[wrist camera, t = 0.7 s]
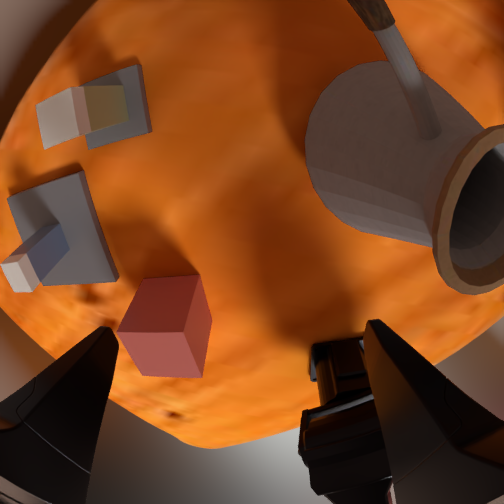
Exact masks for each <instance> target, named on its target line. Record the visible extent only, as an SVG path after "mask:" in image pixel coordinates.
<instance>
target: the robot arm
mask: <svg viewBox="0 0 504 504" xmlns="http://www.w3.org/2000/svg"><path fill="white" fill-rule="evenodd" d="M118 350H119V343H118V341H117V339H116V337H115V335H114V333H113V331H112V329H111V328H110V327H106V326H100V327H99V328H97V329H96V330H95V331H93V332H92V333H91V334H89V335H88V336H87V337H85V338H84V339H83V340H81V341H80V342H79V343H78V344H76V345H75V346H74V347H72V348H71V349H70V350H69V351H67V352H66V353H65V354H63V355H62V356H61V357H60V358H58V359H57V360H56V361H54V362H53V363H52V364H51V365H49V366H48V367H47V368H46V369H44V370H43V371H42V372H41V373H40V374H38V375H37V376H36V377H34V378H33V379H32V380H31V381H29V382H28V383H27V384H26V385H24V386H23V387H22V388H20V389H19V390H17V391H16V392H15V393H13V394H12V395H10V396H9V397H8V398H6V399H5V400H3V401H1V402H0V504H86V498H87V492H88V486H89V480H90V473H91V469H92V463H93V458H94V453H95V449H96V444H97V440H98V435H99V431H100V427H101V423H102V419H103V415H104V411H105V407H106V403H107V400H108V396H109V392H110V389H111V385H112V381H113V376H114V371H115V365H116V360H117V355H118ZM310 380H311V381H312V382H317V384H318V390H319V397H320V405H321V406H319V407H316V408H313V409H309V410H308V409H306V410H303V411H302V418H301V424H300V434H299V444H298V454H299V455H300V456H301V457H302V460H303V462H304V464H305V465H306V466H307V467H308V468H309V475H310V485H311V488H312V489H313V490H314V492H315V493H316V494H317V495H318V496H319V495H324V496H325V497H327V498H328V499H329V500H330V501H331V502H332V503H333V504H392V498H391V492H390V488H391V485H392V483H393V484H394V486H393V487H394V492H395V498H396V504H504V421H503V420H501V419H499V418H498V417H496V416H495V415H493V414H492V413H491V412H489V411H488V410H487V409H485V408H484V407H483V406H481V405H480V404H478V403H477V402H476V401H474V400H473V399H472V398H470V397H469V396H468V395H467V394H465V393H464V392H463V391H462V390H460V389H459V388H458V387H457V386H456V385H455V384H454V383H452V382H451V381H450V380H449V379H448V378H447V379H446V376H445V375H443V374H442V373H441V372H440V371H439V370H438V369H437V368H436V367H434V366H433V365H432V364H431V363H430V362H429V361H428V360H426V359H425V358H424V357H423V356H422V355H421V354H420V353H418V352H417V351H416V350H415V349H414V348H413V347H412V346H410V345H409V344H408V343H407V342H406V341H405V340H403V339H402V338H401V337H400V336H399V335H398V334H396V333H395V332H394V331H393V330H392V329H391V328H389V327H388V326H387V325H386V324H385V323H384V322H382V321H381V320H380V319H373V320H368V321H367V323H366V328H365V332H364V336H363V337H361V338H354V339H347V340H340V341H333V342H325V343H316V344H314V345H312V347H311V371H310Z"/></svg>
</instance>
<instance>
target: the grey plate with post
mask: <svg viewBox="0 0 504 504" xmlns="http://www.w3.org/2000/svg"><path fill="white" fill-rule="evenodd" d="M7 201H8V204H9V207H10V210H11V212H12V215H13V218H14V221H15V223H16V226H17V229H18V231H19V234H20V236H21V239H22V241H23V244H22V245H20V246H19V247H18V248H17V249H16V250H15V251H14V252H13V253H12V254H11V255H10V256H9V257H7V258H6V259H5V260H4V261H3V262H2V263H1V264H0V265H1V267H2V269H3V271H4V273H5V275H6V277H7V279H8V281H9V283H10V285H11V287H12V289H13V291H14V292H33V290H34V289H35V288H36V287H37V286H38V285H39V283H40V282H42V284H43V286H51V285H71V284H89V283H106V282H116V281H117V280H118V278H119V274H118V272H117V269H116V267H115V264H114V262H113V259H112V257H111V254H110V251H109V249H108V246H107V243H106V240H105V238H104V235H103V232H102V229H101V226H100V223H99V220H98V217H97V214H96V211H95V208H94V205H93V201H92V198H91V195H90V191H89V188H88V184H87V181H86V177H85V174H84V170H83V171H79V172H76V173H73V174H70V175H67V176H64V177H60V178H57V179H54V180H52V181H49V182H46V183H43V184H40V185H37V186H35V187H32V188H29V189H27V190H24V191H21V192H19V193H16V194H14V195H12V196H10V197H8V198H7Z"/></svg>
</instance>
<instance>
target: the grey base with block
mask: <svg viewBox="0 0 504 504" xmlns="http://www.w3.org/2000/svg"><path fill="white" fill-rule="evenodd" d="M36 111H37V117H38V122H39V127H40V132H41V137H42V142H43V146H44V149H47V148H49V147H52V146H54V145H57V144H60V143H62V142H65V141H68V140H71V139H73V138H76V137H79V136H82V135H85V136H86V141H87V145H88V149H89V150H90V149H93V148H96V147H99V146H103V145H106V144H109V143H113V142H116V141H120V140H123V139H127V138H131V137H135V136H139V135H143V134H147V133H150V132H152V127H151V122H150V116H149V111H148V105H147V99H146V93H145V87H144V80H143V74H142V67H141V65H138V64H136V65H133V66H130V67H127V68H124V69H121V70H118V71H116V72H113V73H110V74H107V75H105V76H102V77H100V78H97V79H95V80H92V81H90V82H87V83H85V84H83V85H80V86H78V87H70V88H68V89H66V90H64V91H62V92H60V93H58V94H56V95H54V96H52V97H50V98H48V99H46V100H44V101H42V102H41V103H39V104H37V105H36Z"/></svg>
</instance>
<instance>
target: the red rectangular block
mask: <svg viewBox="0 0 504 504" xmlns="http://www.w3.org/2000/svg"><path fill="white" fill-rule="evenodd" d="M211 325H212V317H211V314H210V310H209V307H208V303H207V300H206V296H205V292H204V289H203V285H202V281H201V278H200V275H188V276H175V277H161V278H147V279H143V281H142V283H141V285H140V286H139V288H138V290H137V292H136V294H135V296H134V298H133V300H132V302H131V304H130V306H129V308H128V310H127V312H126V314H125V316H124V318H123V320H122V322H121V324H120V326H119V328H118V330H117V334H118V336H119V337H120V339H121V341H122V343H123V344H124V346H125V348H126V350H127V351H128V353H129V355H130V356H131V358H132V360H133V361H134V363H135V365H136V366H137V368H138V369H139V371H140V372H141V374H142V376H157V377H182V378H202V376H203V370H204V364H205V359H206V353H207V347H208V341H209V336H210V330H211Z"/></svg>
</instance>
